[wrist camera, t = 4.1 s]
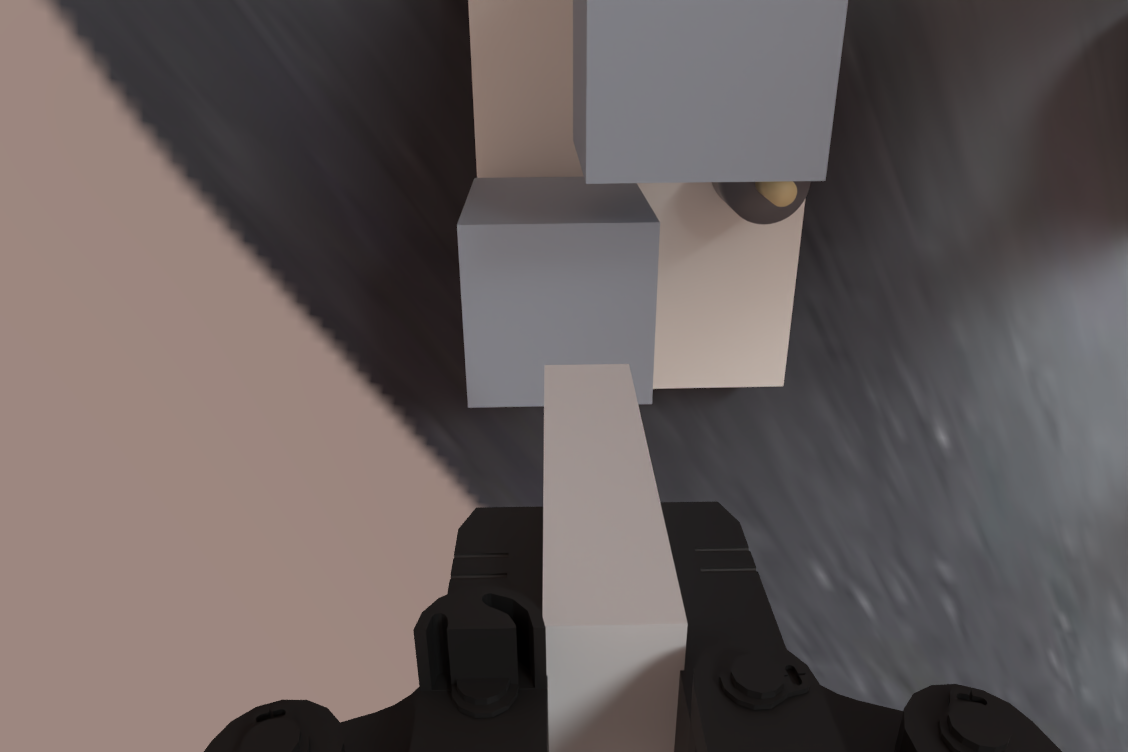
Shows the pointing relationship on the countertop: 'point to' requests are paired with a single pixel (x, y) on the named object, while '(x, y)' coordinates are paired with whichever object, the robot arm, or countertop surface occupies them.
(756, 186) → the potentiometer
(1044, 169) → the countertop surface
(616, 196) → the knob
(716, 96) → the knob
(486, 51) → the mount
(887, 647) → the countertop surface
